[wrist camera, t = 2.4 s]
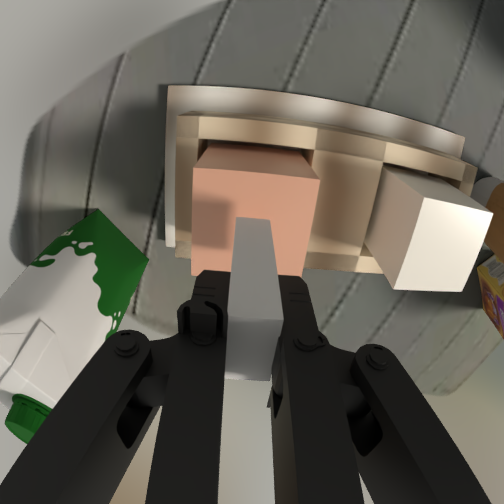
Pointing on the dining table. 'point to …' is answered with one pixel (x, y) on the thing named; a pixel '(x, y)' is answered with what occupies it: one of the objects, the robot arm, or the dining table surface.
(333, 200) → the housing
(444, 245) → the white block
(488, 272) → the candy box
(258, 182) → the salmon pink block
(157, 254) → the dining table surface
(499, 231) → the coffee cup
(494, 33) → the dining table surface
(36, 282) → the milk carton
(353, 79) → the dining table surface
